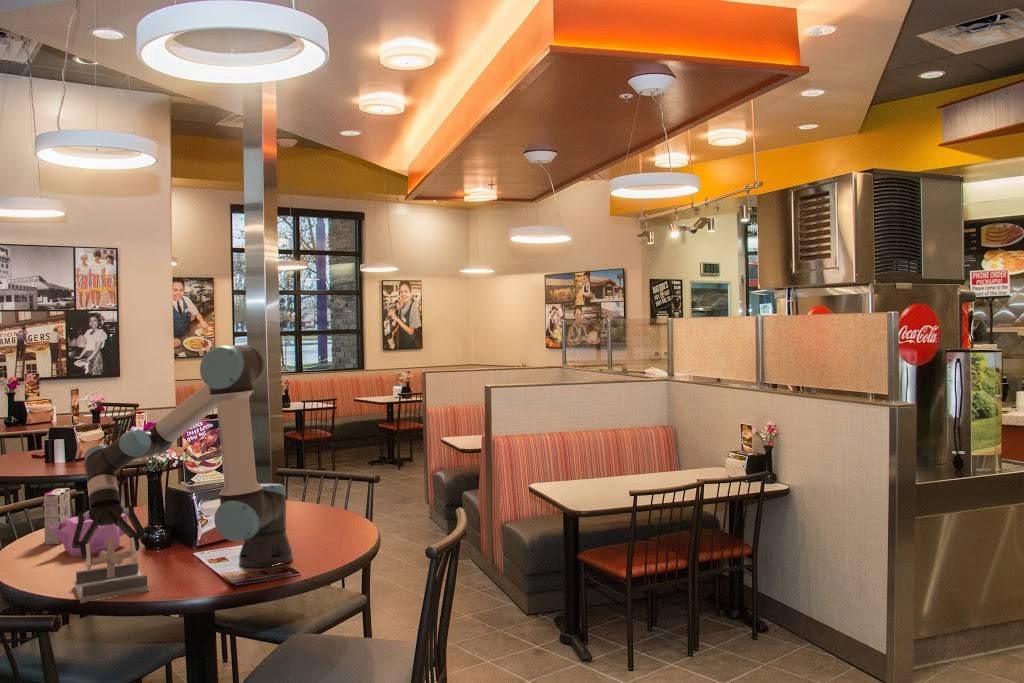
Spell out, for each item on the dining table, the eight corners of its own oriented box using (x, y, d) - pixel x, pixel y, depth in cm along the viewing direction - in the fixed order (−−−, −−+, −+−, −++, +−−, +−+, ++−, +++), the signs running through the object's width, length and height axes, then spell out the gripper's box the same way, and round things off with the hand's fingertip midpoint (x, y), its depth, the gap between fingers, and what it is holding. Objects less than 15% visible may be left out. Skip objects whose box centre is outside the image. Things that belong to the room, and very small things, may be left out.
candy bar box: (55, 536, 261) (54, 488, 260) (71, 535, 262) (70, 487, 262) (43, 545, 250) (42, 495, 250) (60, 544, 251) (59, 494, 251)
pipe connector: (121, 568, 213) (121, 532, 213) (138, 575, 206) (138, 538, 206) (83, 577, 205) (82, 540, 205) (99, 585, 199) (99, 546, 199)
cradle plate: (139, 575, 217) (139, 561, 217) (149, 591, 204) (149, 575, 204) (74, 586, 208) (73, 572, 208) (80, 603, 195) (80, 587, 195)
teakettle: (132, 543, 252) (131, 505, 252) (103, 558, 235) (102, 517, 235) (80, 543, 253) (80, 505, 253) (48, 558, 236) (47, 517, 236)
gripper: (146, 497, 225) (157, 564, 212) (56, 508, 212) (62, 580, 199) (149, 482, 220) (160, 549, 207) (57, 492, 207) (63, 564, 195)
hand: (112, 564), depth 203 cm, fingers closed on pipe connector, 10 cm apart
